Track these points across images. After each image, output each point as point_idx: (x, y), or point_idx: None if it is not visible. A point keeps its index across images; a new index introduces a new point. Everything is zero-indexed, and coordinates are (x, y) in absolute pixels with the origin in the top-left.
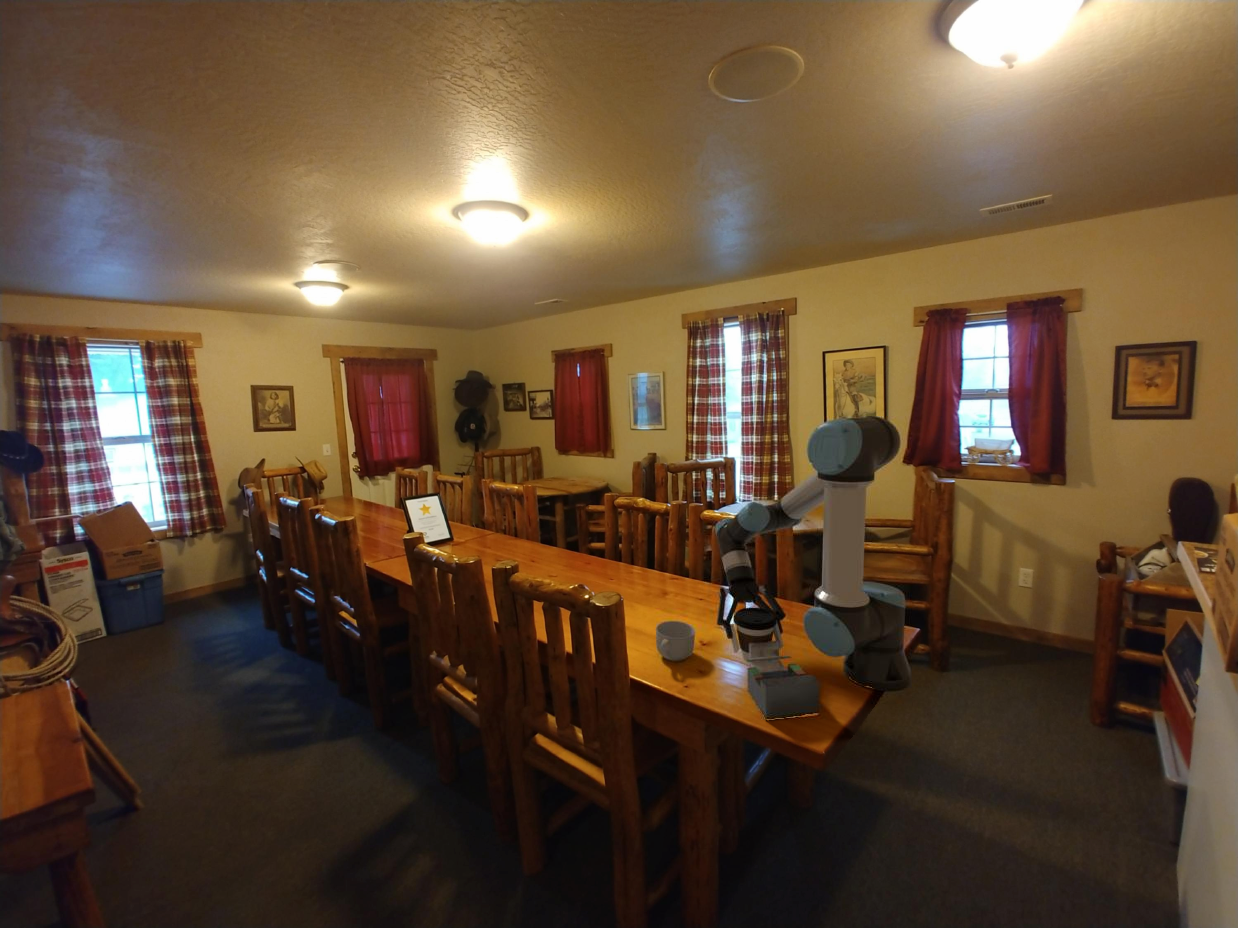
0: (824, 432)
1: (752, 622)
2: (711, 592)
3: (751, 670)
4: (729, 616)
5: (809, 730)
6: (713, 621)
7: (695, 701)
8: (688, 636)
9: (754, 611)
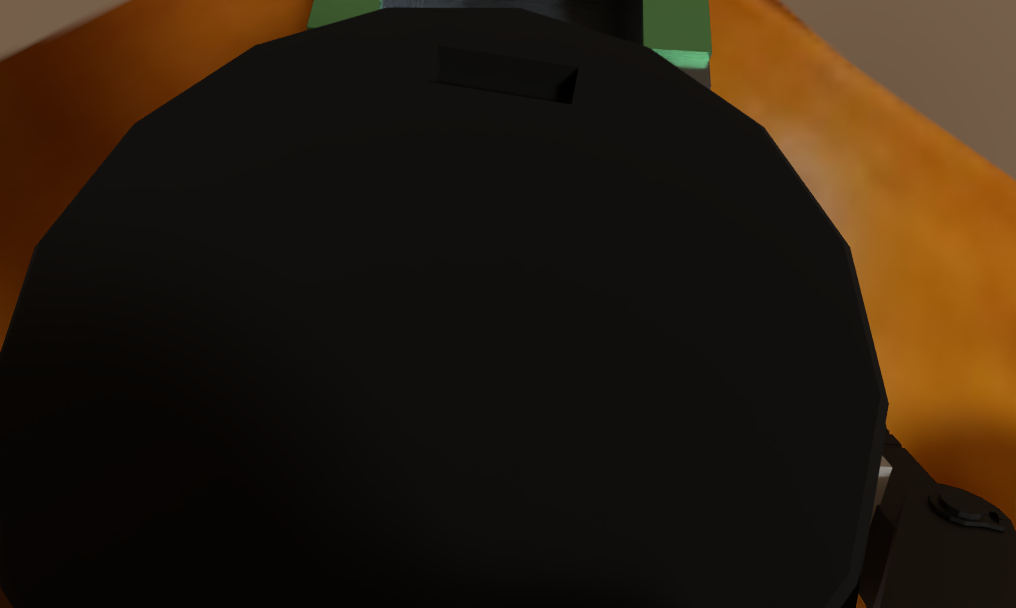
0: None
1: (625, 56)
2: None
3: (698, 34)
4: (967, 593)
5: None
6: None
7: (1009, 181)
8: None
9: (345, 509)
